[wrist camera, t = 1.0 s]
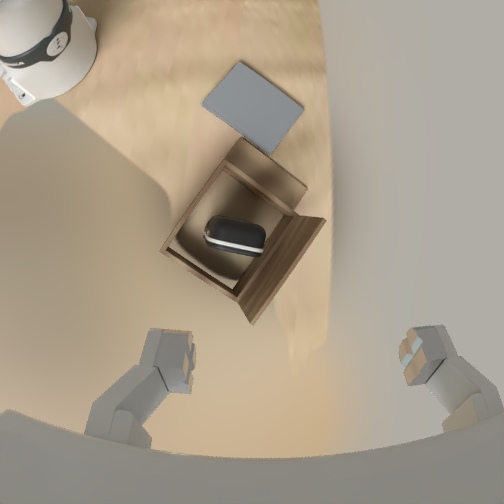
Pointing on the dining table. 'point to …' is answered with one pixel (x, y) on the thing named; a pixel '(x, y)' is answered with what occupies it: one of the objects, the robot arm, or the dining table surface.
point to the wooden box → (280, 241)
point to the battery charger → (235, 236)
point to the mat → (253, 107)
